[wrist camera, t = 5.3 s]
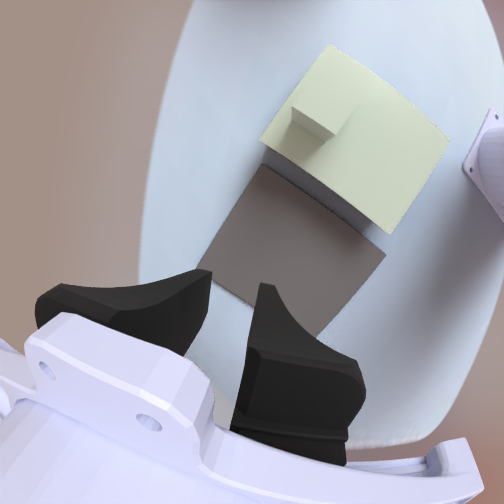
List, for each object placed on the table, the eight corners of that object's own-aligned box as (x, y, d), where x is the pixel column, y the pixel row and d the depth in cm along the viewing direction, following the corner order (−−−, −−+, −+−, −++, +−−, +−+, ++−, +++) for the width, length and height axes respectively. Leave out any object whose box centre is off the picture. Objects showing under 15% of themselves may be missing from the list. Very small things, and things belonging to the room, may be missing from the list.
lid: (442, 141, 15) (483, 137, 10) (383, 230, 18) (412, 253, 13) (326, 50, 14) (337, 15, 10) (260, 141, 17) (249, 131, 12)
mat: (384, 253, 21) (386, 255, 20) (311, 339, 24) (311, 341, 23) (262, 163, 20) (262, 164, 20) (197, 266, 23) (195, 268, 23)
